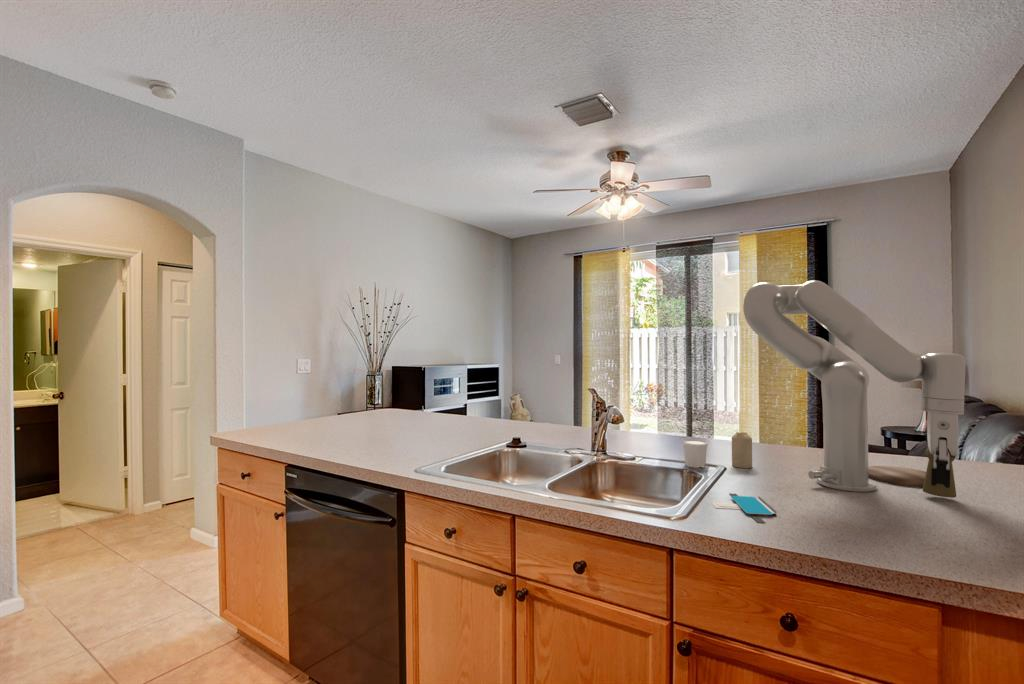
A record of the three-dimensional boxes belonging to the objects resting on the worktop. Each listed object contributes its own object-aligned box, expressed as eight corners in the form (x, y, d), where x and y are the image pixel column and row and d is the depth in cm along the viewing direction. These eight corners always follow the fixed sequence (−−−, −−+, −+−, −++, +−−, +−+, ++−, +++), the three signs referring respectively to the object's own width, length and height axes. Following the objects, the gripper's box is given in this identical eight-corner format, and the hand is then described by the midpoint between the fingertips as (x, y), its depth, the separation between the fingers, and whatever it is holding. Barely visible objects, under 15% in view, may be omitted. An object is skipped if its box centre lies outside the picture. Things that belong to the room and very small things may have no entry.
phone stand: (703, 495, 120) (703, 488, 120) (755, 497, 118) (755, 490, 118) (726, 524, 100) (726, 516, 100) (789, 527, 99) (788, 518, 99)
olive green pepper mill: (948, 491, 117) (950, 445, 116) (962, 498, 111) (963, 450, 111) (917, 488, 119) (919, 442, 118) (929, 495, 113) (931, 447, 113)
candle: (743, 469, 143) (743, 434, 143) (727, 465, 148) (727, 432, 148) (756, 467, 146) (756, 433, 146) (740, 463, 151) (739, 430, 151)
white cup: (709, 468, 144) (709, 444, 144) (685, 467, 145) (684, 444, 146) (705, 463, 151) (705, 440, 151) (681, 462, 152) (681, 439, 152)
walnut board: (906, 488, 123) (906, 482, 123) (850, 473, 138) (849, 467, 138) (956, 484, 126) (956, 479, 126) (895, 469, 142) (895, 464, 142)
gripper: (968, 411, 106) (965, 496, 106) (959, 404, 119) (957, 479, 119) (923, 407, 110) (920, 489, 110) (919, 401, 123) (917, 473, 124)
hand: (939, 483), depth 115 cm, fingers closed on olive green pepper mill, 3 cm apart
